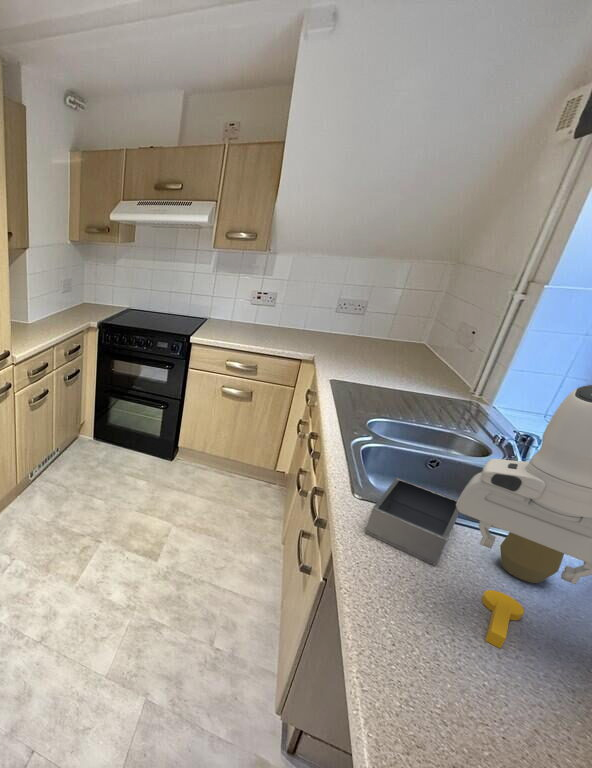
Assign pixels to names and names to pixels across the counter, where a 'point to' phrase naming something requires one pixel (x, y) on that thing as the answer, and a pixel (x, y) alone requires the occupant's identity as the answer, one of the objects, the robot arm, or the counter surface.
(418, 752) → the counter surface
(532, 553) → the squeeze bottle
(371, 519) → the grey open box
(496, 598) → the yellow letter t
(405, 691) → the counter surface
